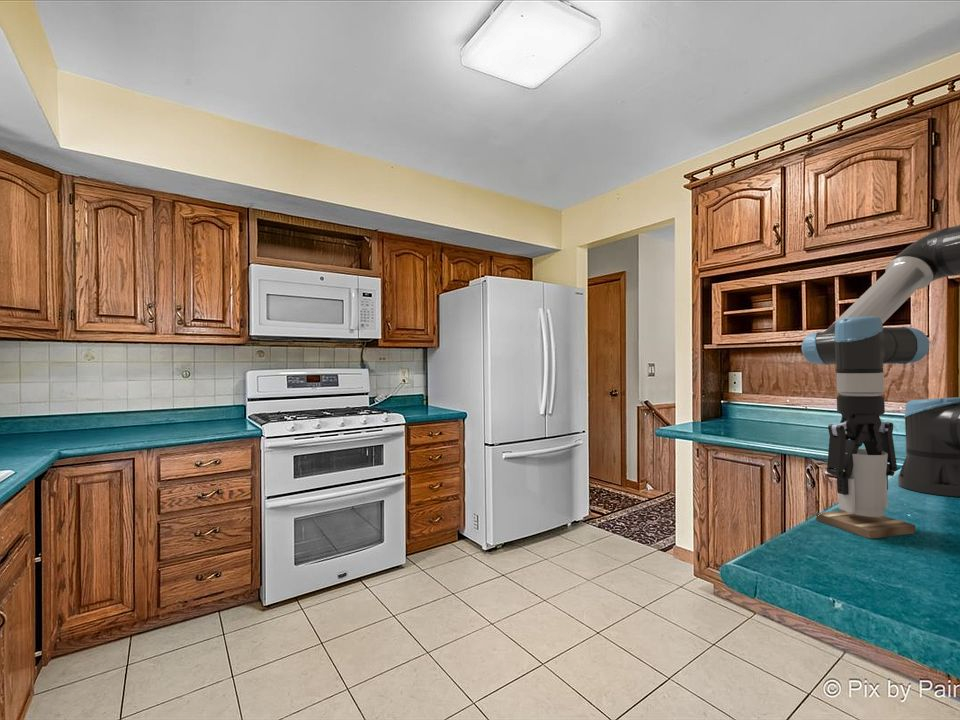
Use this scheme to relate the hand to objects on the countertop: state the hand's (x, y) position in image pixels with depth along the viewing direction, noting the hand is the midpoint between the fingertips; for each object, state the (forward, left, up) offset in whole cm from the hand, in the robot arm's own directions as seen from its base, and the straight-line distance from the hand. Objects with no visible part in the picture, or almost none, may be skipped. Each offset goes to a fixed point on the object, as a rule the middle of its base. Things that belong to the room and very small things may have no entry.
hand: (863, 508), depth 96 cm
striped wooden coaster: (0, 0, -4) cm, 4 cm away
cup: (0, 0, -1) cm, 1 cm away
